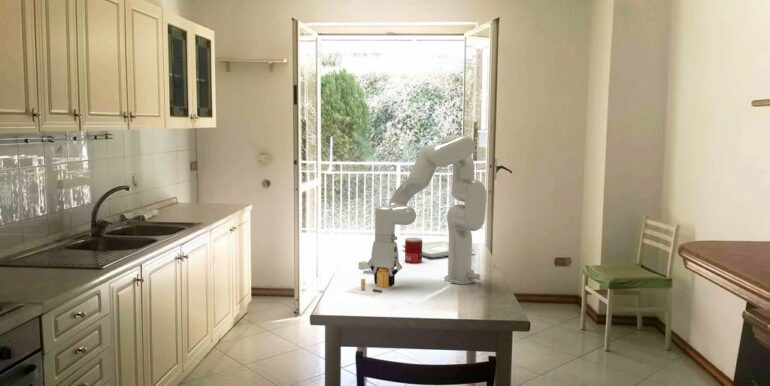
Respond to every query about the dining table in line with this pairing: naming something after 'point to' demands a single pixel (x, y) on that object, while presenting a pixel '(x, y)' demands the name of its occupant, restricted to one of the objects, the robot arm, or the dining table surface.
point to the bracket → (364, 264)
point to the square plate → (432, 253)
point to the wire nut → (383, 278)
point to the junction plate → (369, 288)
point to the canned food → (413, 250)
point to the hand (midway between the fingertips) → (384, 283)
